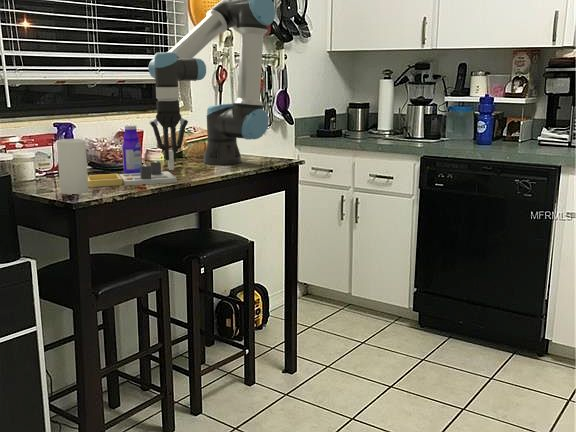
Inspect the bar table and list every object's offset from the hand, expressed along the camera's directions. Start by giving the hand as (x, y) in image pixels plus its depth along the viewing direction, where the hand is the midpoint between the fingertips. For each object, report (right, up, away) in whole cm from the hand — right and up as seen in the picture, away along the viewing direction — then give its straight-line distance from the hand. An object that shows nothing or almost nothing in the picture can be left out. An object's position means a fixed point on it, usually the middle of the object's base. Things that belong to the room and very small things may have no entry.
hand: (171, 169), depth 216 cm
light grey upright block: (-26, -9, -22) cm, 35 cm away
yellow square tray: (-21, -5, -8) cm, 23 cm away
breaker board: (-8, -4, -3) cm, 9 cm away
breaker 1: (-7, -3, -7) cm, 11 cm away
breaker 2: (-5, -1, +1) cm, 6 cm away
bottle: (-16, -1, +10) cm, 18 cm away
